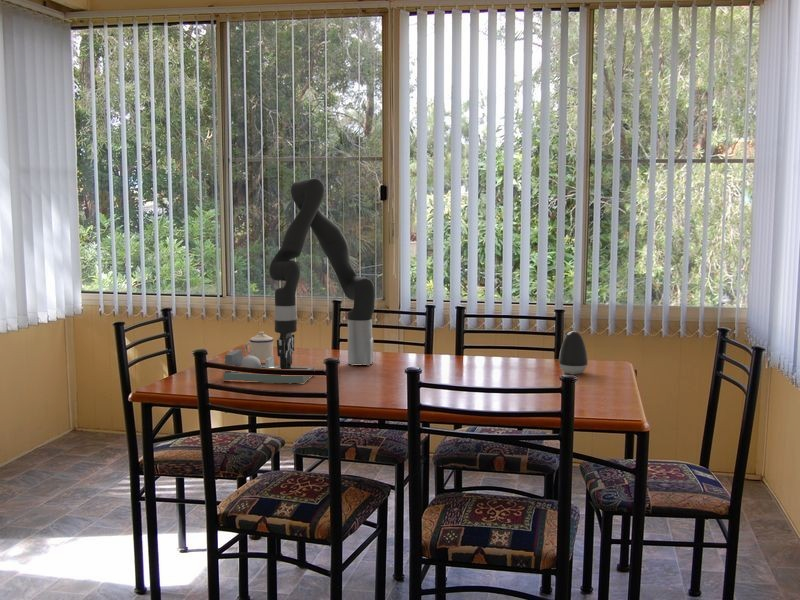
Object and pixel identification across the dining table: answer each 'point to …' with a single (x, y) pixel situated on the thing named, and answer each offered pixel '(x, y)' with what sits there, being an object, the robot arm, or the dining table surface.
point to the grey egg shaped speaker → (573, 354)
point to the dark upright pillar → (270, 361)
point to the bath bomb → (250, 362)
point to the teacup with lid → (260, 346)
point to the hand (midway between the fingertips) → (286, 366)
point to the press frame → (235, 359)
